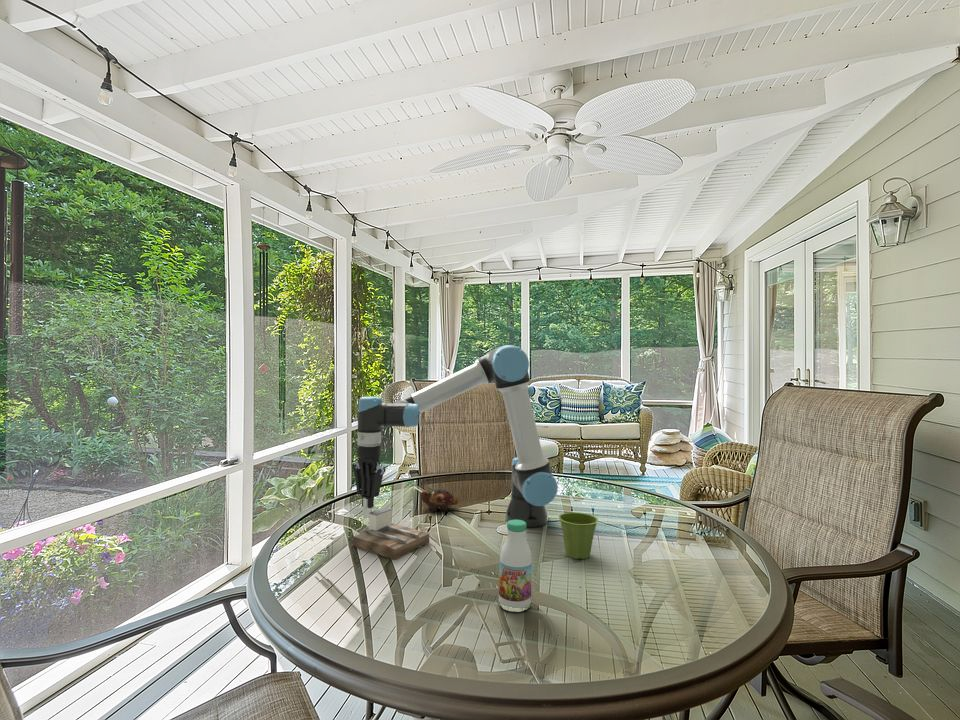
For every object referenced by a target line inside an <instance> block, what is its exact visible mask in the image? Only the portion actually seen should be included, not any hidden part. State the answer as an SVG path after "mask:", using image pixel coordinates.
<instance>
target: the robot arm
mask: <svg viewBox="0 0 960 720" xmlns="http://www.w3.org/2000/svg"><path fill="white" fill-rule="evenodd" d="M529 369H530V361H529V358H528V355H527V353H526V352H525V351H524V350H523V349H522V348H520V347H519V346H517V345H513V344H506V345H505V344H504V345H500V346H498V347H495V348H493V349H492V350H490V351H489V352H487V353H486V354H484V355H483V356H481V357H479V358H476V360H475V361H474V363H473V364H471V365H469V366H466V367H465V368H463V369H461V370H458V371H456V372H455V373H453V374H450V375H449V376H446V377H445V378H442V379H440V380H438V381H435V382H434V383H432V384H430V385H428V386H426V387H424V388H422V389H420V390H418V391H415V392H413V393H411V394H409V395H407V396H406V397H402V398H399V399H396V401H394V402H393V403H390V402H389V403H388V402H383V398H382V397H380V396H362V397H360V398H359V399H358V407H357V444H358V445H357V446H356V447H357V448H356V457H357V458H358V459H357V462H355V463H353V464H351V465H352V466H351V467H352V469H353V471H354V479H355V487H356V493H357V495H360V496H361V506H362V519H364V520H365V519H366V520H367V519H369V513H370V512H373V508H374V505H375V504H374V501H375V500H374V499H375V498H376V497H379V496H380V491H381V487H382V483H383V477H384V474H385V472H386V471H387V469H386V468H385V467H382V466H381V462H380V457H381V455H382V445H380V444H382V427H398V428H399V427H403V428H405V427H406V428H409V427H410V428H412V427H418V426H419V415H420V414H422V413H424V412H426V411H428V410H431V409H433V408H435V407H436V406H439V405H441V404H444V403H445V402H447V401H448V400H451V399H453V398H455V397H457V396H459V395H462V394H463V393H466V392H467V391H469V390H472V389H473V388H475V387H478V386H480V385H482V384H487V385H488V384H490V383H492V382H494V383H495V389H496V390H498V391H499V392H501V394H502V398H503V402H504V407H505V410H506V415H507V416H506V417H507V419H508V424H509V428H510V432H511V435H512V436H511V438H512V440H513V445H514V450H515V453H516V457H514V458H512V462H511V486H510V487H511V489H510V490H511V491H510V492H511V494H510V499H509V503H508V505H507V509H506V511H505V512H506V513H505V521H506V523H508V521H510V520H522V521H525V522H526V528H537V527H542V526H545V525H546V524H547V523H548V512H547V508H546V505H549V504H550V503H551V502H553V501H554V499H555V498H556V497H557V495H558V490H559V487H558V482H557V480H556V477H555V476H554V475H553V473H552V472H553V471H552V468H551V463H550V460H549V459H548V458H547V457H546V456H544V455H543V454H544V453H543V450H542V446H541V441H540V436H539V433H538V428H537V424H536V420H535V415H534V411H533V408H532V407H533V406H532V402H531V399H530V398H531V397H530V394H529V389H528V386H529V384H530V383H531V378H530V374H529Z"/></svg>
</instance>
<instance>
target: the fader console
mask: <svg viewBox="0 0 960 720" xmlns="http://www.w3.org/2000/svg"><path fill="white" fill-rule="evenodd" d="M352 537H353V538H352V540H353V541H352V547H354V546H355V547H354V548H357V547H358V549H361V550H364V551H366V552H370V553H373V554H376V555H380V556H383V557H386V558H388V559H392V560H398V558H400V557H403V556H405V555H407V554H409V553H411V552H414V551H415V550H417V549H419V548H420V547H419V546H421V547H423V546H422V545H424V544H426V545H427V543H428V544H429V543H430V533H429V532H426V531H422V530H418V529H415V528H411V527H408V526H405V525H401V524H396V523H392V522H391V525H389V526H388V531H385V532H383V533H382V532H378V531H375V530H371V529H369V528H366V529H365V531H364V532H362V533H358V534H356V535H354V536H352ZM424 546H425V545H424ZM418 547H419V548H418ZM416 548H417V549H416ZM414 549H415V550H414Z"/></svg>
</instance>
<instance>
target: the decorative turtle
mask: <svg viewBox="0 0 960 720" xmlns="http://www.w3.org/2000/svg"><path fill="white" fill-rule="evenodd" d="M420 499H421V501H422V502H423V503H424V504H425V505H427V507H428V508H429V509H430V510H431V512H433V513H435V512H437V510H439V509H440V510H441V511H443V512H447V510H448V508H449V506H452V505H453V506H455V505H458V503H459V501H460V499H459V498H458V497H456V496H454V494H453V493H452V492H451V491H449V490H447V489H443V488H439V489H438V488H437V489H434V490H431V491H430V490H426V489H425V490H422V491H421V492H420Z"/></svg>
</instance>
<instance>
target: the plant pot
mask: <svg viewBox="0 0 960 720" xmlns="http://www.w3.org/2000/svg"><path fill="white" fill-rule="evenodd" d="M558 519H559V520H560V526H561V529H562V534H563V535H562V537H563V543H564V544H563V545H564V552H565V555H566V556H567V557H569V558H571V559H574V560H579V559H582V560H587V559H588V558H589V557H590V556H591V551H592V546H593V542H594V541H593V540H594V534H595V530H596V527H597V524H598V522H599V518H598V517H597V516H595V515H592V514H589V513H584V512H575V511H574V512H573V511H572V512H564V513H561V514H560V515H558Z"/></svg>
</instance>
